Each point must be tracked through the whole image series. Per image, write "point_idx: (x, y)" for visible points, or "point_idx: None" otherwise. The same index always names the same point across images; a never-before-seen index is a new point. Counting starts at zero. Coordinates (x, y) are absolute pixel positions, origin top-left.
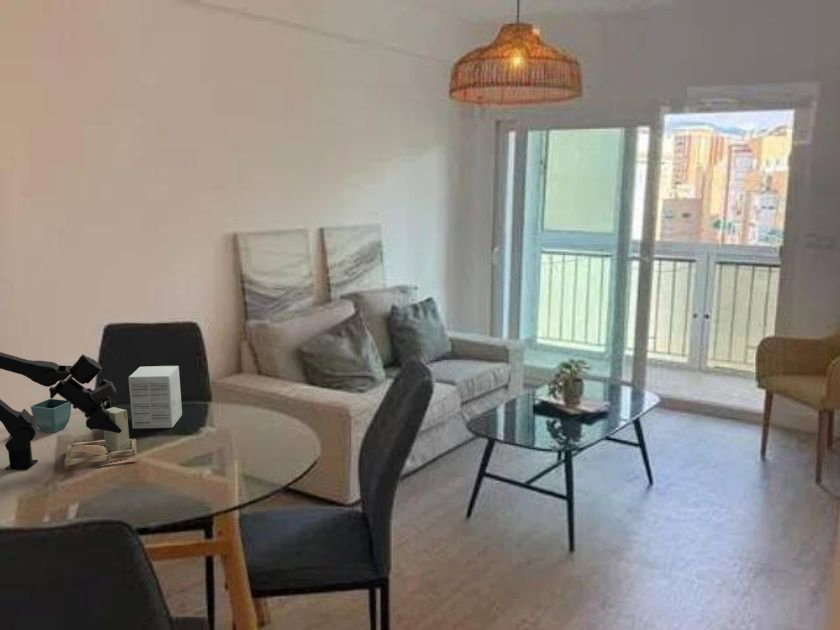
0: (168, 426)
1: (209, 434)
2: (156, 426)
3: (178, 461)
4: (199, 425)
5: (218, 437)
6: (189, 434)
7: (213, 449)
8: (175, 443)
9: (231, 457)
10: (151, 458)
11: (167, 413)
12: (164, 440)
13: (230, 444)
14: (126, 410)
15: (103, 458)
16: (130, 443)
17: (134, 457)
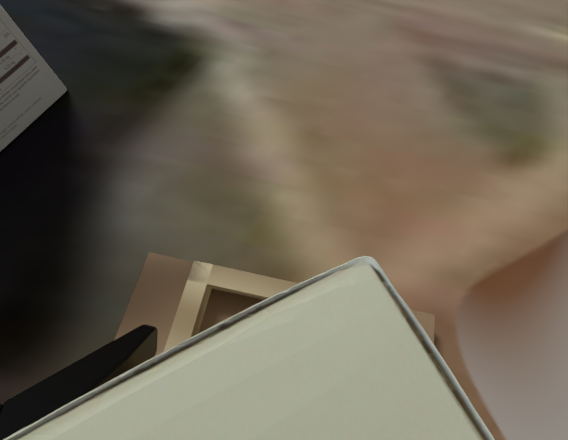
0: (53, 95)
1: (242, 19)
2: (10, 132)
3: (477, 163)
4: (122, 17)
5: (290, 9)
6: (196, 63)
7: (399, 47)
8: (266, 124)
9: (495, 30)
10: (401, 245)
11: (3, 38)
12: (202, 149)
13: (376, 3)
14: (376, 263)
15: None
16: (207, 297)
17: (421, 322)
